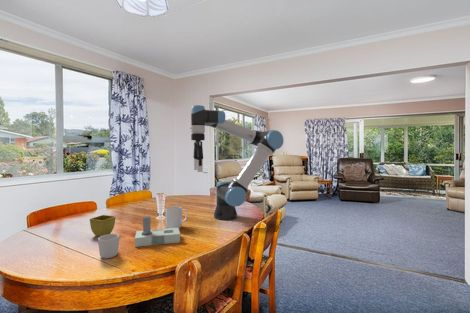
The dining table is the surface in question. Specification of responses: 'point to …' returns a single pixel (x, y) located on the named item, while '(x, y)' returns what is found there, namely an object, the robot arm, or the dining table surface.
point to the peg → (146, 225)
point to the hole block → (157, 237)
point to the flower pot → (102, 225)
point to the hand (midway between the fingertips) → (198, 170)
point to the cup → (108, 245)
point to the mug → (174, 217)
